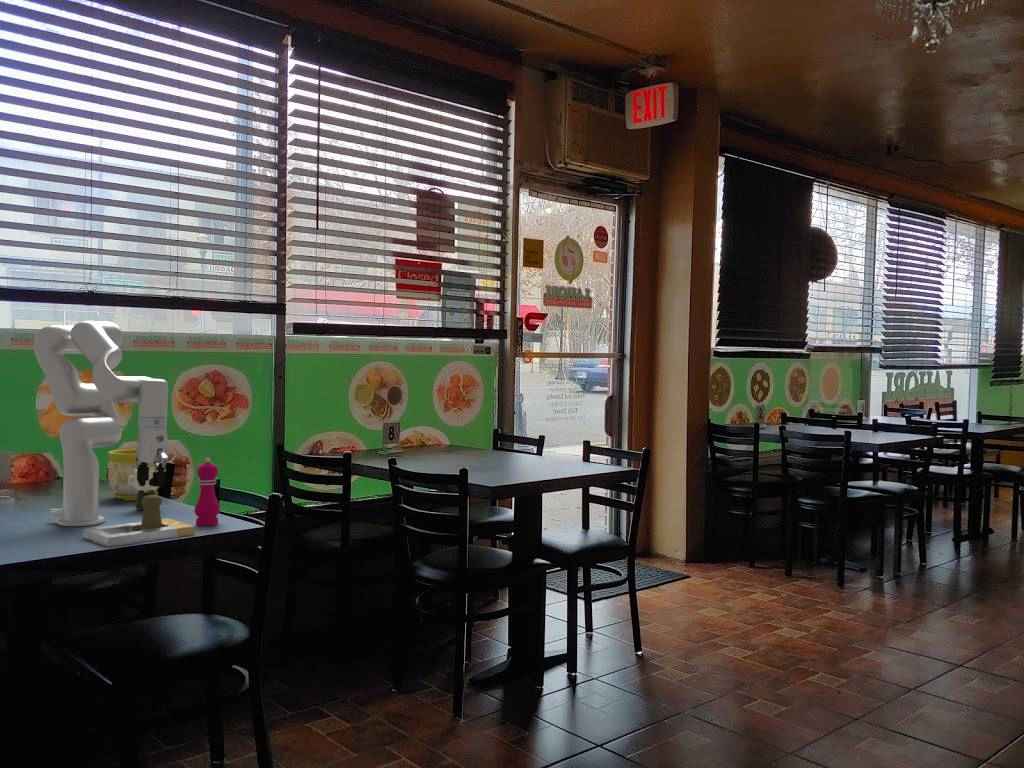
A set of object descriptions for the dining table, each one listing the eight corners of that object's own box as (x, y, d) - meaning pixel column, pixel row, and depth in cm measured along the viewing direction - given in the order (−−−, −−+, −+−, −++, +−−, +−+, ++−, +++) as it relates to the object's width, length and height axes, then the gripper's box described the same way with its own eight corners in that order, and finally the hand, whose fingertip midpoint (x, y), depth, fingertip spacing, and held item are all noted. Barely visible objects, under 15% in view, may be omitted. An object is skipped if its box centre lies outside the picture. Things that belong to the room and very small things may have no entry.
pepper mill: (194, 522, 265) (194, 456, 265) (219, 521, 268) (219, 456, 267) (194, 527, 258) (194, 459, 258) (220, 526, 261) (220, 458, 260)
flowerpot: (100, 502, 299) (100, 453, 298) (117, 493, 316) (117, 448, 316) (155, 501, 301) (156, 454, 300) (169, 493, 319) (169, 448, 318)
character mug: (128, 512, 280) (128, 471, 280) (126, 508, 287) (127, 469, 286) (165, 510, 286) (165, 470, 285) (162, 506, 292) (162, 467, 291)
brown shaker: (166, 532, 250) (166, 493, 250) (158, 536, 244) (158, 497, 244) (144, 532, 250) (145, 493, 250) (136, 536, 244) (136, 497, 244)
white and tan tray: (107, 546, 230) (108, 537, 230) (83, 537, 241) (83, 528, 241) (194, 534, 248) (194, 526, 248) (168, 526, 259) (168, 518, 259)
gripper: (180, 425, 243) (177, 487, 244) (151, 419, 255) (149, 478, 256) (153, 426, 238) (151, 489, 239) (125, 420, 250) (123, 480, 250)
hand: (150, 483), depth 247 cm, fingers open, 9 cm apart
